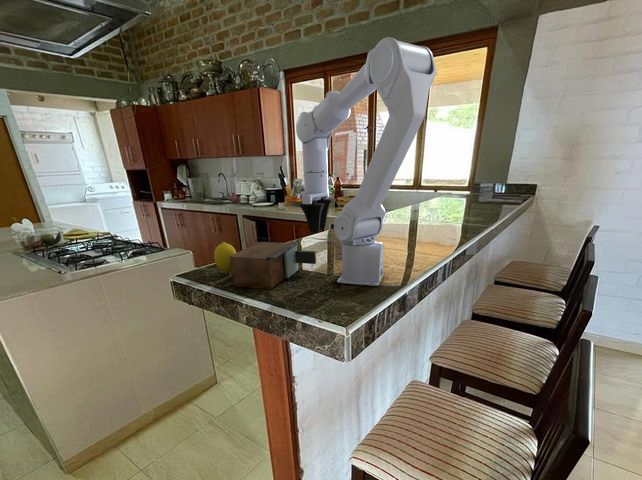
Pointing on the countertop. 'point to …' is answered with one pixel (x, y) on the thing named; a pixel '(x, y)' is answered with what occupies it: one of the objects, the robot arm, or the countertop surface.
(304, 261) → the sliding door
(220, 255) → the lemon
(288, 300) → the countertop surface
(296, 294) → the countertop surface
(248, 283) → the cabinet
